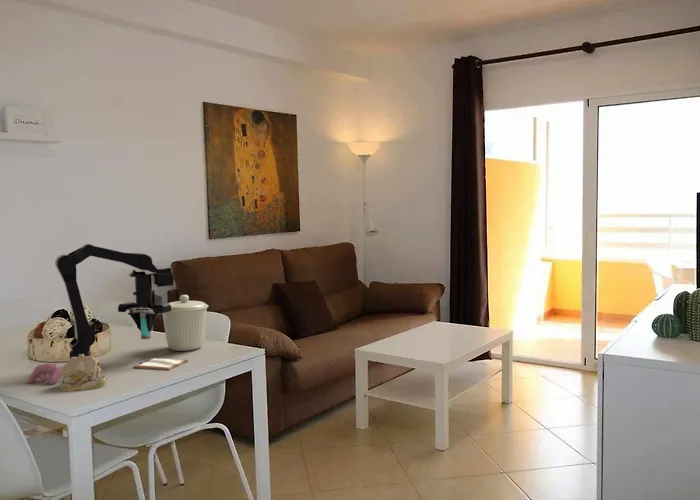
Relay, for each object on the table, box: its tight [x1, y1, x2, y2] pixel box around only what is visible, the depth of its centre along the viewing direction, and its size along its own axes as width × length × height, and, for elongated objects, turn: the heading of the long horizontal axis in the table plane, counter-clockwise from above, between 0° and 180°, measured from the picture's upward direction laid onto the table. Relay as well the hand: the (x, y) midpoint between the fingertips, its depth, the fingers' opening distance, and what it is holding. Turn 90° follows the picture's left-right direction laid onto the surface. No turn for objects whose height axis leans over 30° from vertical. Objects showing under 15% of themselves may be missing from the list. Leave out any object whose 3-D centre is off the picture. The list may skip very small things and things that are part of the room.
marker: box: [140, 310, 152, 340], centre depth 221 cm, size 3×3×10 cm
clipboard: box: [132, 357, 189, 371], centre depth 213 cm, size 12×14×1 cm
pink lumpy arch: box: [27, 362, 63, 386], centre depth 194 cm, size 10×5×7 cm, turn 75°
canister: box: [161, 294, 209, 352], centre depth 237 cm, size 18×18×21 cm
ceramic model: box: [59, 354, 108, 392], centre depth 189 cm, size 14×11×10 cm
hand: (145, 331), depth 221 cm, fingers closed on marker, 3 cm apart
